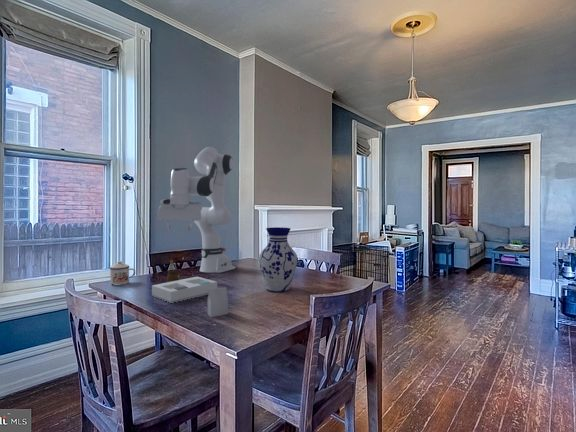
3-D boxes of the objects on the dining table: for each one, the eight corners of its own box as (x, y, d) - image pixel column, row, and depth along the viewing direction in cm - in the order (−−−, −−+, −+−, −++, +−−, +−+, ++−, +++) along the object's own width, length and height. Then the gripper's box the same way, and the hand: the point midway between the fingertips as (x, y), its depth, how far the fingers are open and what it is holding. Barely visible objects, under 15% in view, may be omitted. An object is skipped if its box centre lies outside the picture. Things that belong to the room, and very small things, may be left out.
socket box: (197, 286, 171) (197, 275, 171) (217, 292, 160) (217, 281, 160) (151, 296, 153) (151, 284, 152) (170, 303, 142) (170, 291, 142)
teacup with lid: (111, 286, 169) (111, 263, 169) (108, 282, 177) (108, 260, 176) (137, 283, 176) (136, 261, 175) (133, 279, 183) (133, 258, 183)
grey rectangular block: (227, 314, 130) (227, 288, 130) (211, 317, 126) (210, 290, 126) (224, 311, 133) (224, 286, 133) (207, 314, 130) (207, 288, 129)
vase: (293, 295, 155) (294, 230, 154) (253, 293, 159) (253, 229, 157) (300, 285, 174) (300, 227, 172) (264, 283, 177) (264, 226, 176)
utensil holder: (169, 285, 172) (169, 262, 171) (165, 283, 177) (165, 260, 176) (181, 284, 175) (180, 261, 175) (177, 281, 180) (177, 259, 180)
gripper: (201, 202, 170) (201, 229, 170) (157, 200, 163) (157, 229, 163) (202, 201, 164) (202, 230, 164) (157, 200, 157) (156, 230, 157)
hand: (179, 229), depth 163 cm, fingers open, 8 cm apart
